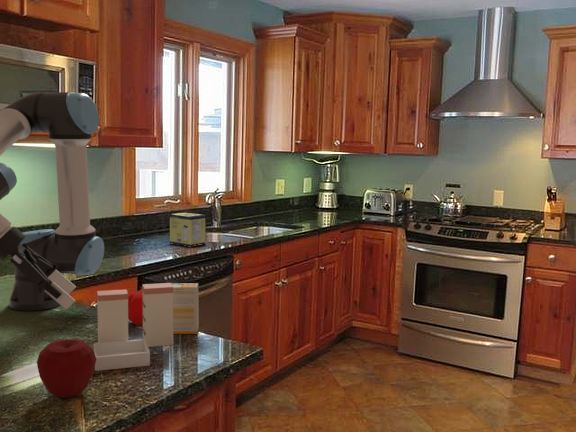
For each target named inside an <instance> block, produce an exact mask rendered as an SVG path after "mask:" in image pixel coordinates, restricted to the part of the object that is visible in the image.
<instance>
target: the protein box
mask: <svg viewBox="0 0 576 432" xmlns="http://www.w3.org/2000/svg"><path fill="white" fill-rule="evenodd" d="M170 243H173V244H178V245H186V246H194V245H198V244H205V245H206V215H205V214H199V213H188V212H177V213H169V244H170ZM178 245H177V246H178Z"/></svg>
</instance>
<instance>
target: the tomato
mask: <svg viewBox="0 0 576 432" xmlns="http://www.w3.org/2000/svg"><path fill="white" fill-rule="evenodd" d="M142 300H143V290H142V286H140V289H139V290H137V291H133V292H131V293H129V294H128V321H130V322H131V323H132V324H134V325H136V326H139V327H143V317H142V313H143V304H142Z"/></svg>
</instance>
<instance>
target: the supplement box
mask: <svg viewBox="0 0 576 432" xmlns="http://www.w3.org/2000/svg"><path fill="white" fill-rule="evenodd" d="M170 283H171V284H172V286H173V335H197V334H198V331H199V325H200V323H199V322H200V321H199V320H200V319H199V318H200V317H199V316H200V315H199V311H200V309H199V304H200V303H199V283H198V282H197V283H196V282H195V283H194V282H193V283H192V282H191V283H190V282H189V283H186V282H184V283H182V282H181V283H180V282H179V283H178V282H170ZM196 333H197V334H196Z"/></svg>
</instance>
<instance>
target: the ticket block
mask: <svg viewBox="0 0 576 432" xmlns="http://www.w3.org/2000/svg"><path fill="white" fill-rule="evenodd" d="M171 283H172V282H165V283H164V282H163V283H162V282H160V283H145V284H141V285H142V286H141V287H142V290H143V300H142V304H143V313H142V317H143V326H141V327H142V328H141V329H142V339H146V342H147V345H148V348H150V347H151V348H152V347H153V348H154V347H161V346H162V347H163V346H173V345H174V334H173V286H172V284H171Z"/></svg>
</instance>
